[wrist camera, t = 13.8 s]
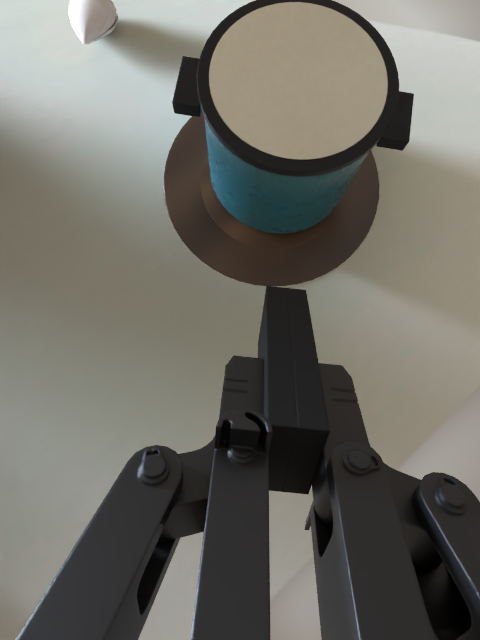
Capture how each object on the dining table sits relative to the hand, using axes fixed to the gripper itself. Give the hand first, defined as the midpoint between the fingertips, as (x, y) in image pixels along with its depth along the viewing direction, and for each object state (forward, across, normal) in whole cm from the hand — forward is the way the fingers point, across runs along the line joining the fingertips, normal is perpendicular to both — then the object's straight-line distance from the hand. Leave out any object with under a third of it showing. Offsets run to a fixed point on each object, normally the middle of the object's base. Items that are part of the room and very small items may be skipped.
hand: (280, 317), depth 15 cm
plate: (+22, 0, -1) cm, 22 cm away
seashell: (+31, -18, +8) cm, 37 cm away
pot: (+23, 0, 0) cm, 23 cm away
